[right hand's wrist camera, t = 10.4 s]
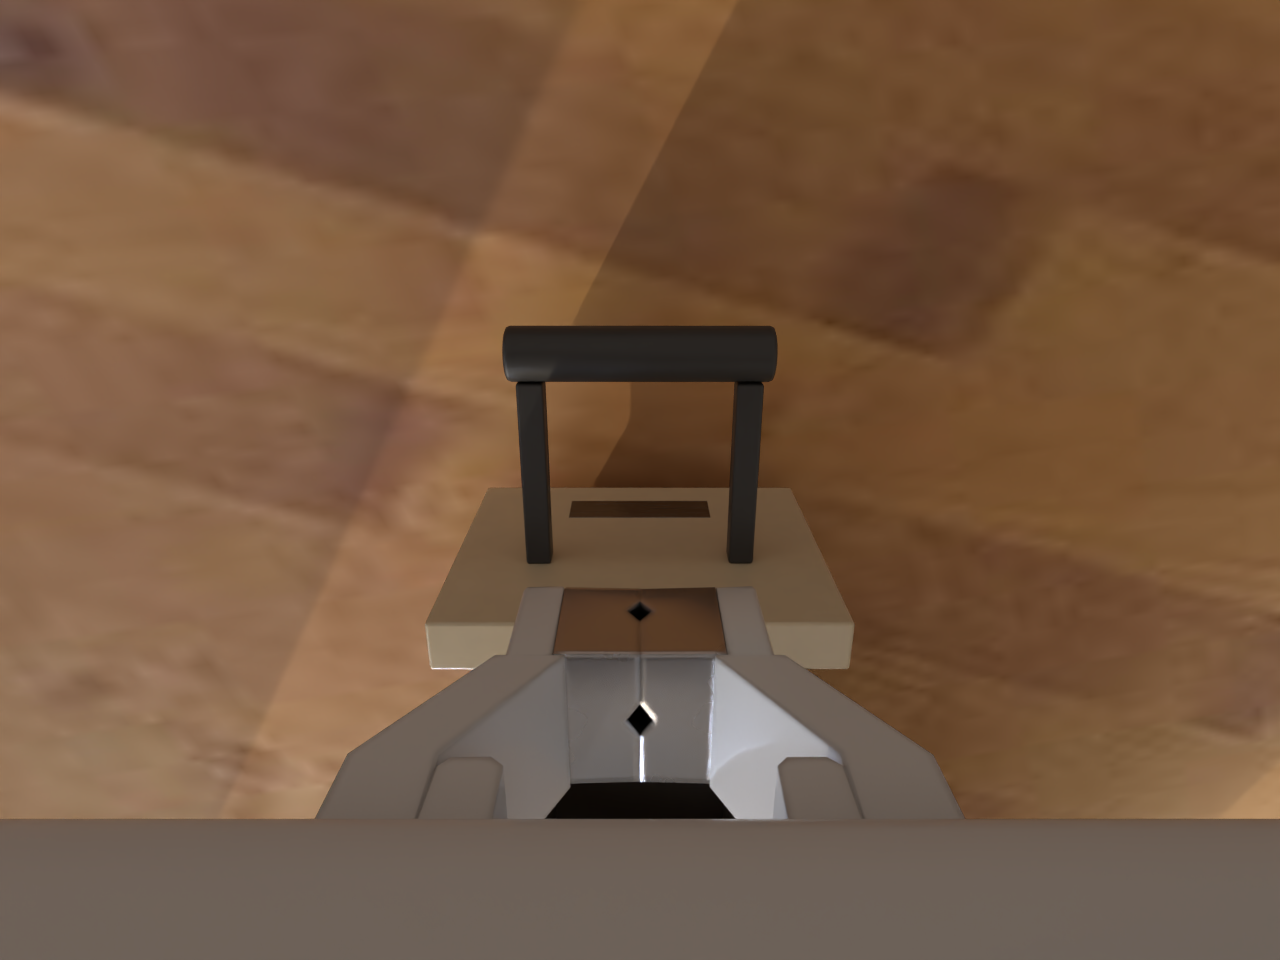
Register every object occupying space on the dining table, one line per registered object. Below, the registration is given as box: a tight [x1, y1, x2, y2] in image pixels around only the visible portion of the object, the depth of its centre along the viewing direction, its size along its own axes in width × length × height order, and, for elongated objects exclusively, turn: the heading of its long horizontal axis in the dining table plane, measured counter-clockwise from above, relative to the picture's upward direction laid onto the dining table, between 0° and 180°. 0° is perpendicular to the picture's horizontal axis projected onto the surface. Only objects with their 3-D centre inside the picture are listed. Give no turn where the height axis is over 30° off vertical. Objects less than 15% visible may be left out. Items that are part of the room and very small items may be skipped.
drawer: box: [425, 326, 855, 819], centre depth 22 cm, size 24×9×8 cm, turn 0°
